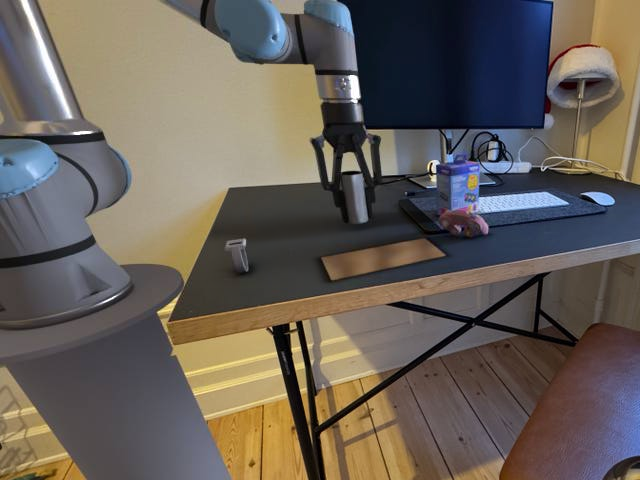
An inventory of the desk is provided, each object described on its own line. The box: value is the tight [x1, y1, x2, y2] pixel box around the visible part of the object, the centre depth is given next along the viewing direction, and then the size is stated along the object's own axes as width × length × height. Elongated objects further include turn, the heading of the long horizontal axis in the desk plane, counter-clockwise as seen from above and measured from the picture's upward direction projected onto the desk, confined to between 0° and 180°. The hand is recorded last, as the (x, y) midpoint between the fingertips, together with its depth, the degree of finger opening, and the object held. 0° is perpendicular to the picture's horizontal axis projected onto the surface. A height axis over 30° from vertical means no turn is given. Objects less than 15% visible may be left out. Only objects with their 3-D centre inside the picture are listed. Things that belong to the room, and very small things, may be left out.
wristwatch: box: [224, 238, 249, 274], centre depth 60 cm, size 6×3×5 cm, turn 28°
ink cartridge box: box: [435, 152, 481, 217], centre depth 88 cm, size 10×6×14 cm, turn 137°
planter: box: [340, 170, 370, 225], centre depth 77 cm, size 4×4×10 cm
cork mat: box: [320, 237, 447, 282], centre depth 67 cm, size 20×10×1 cm, turn 120°
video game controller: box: [438, 210, 489, 238], centre depth 76 cm, size 10×5×7 cm
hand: (357, 219), depth 80 cm, fingers closed on planter, 5 cm apart
